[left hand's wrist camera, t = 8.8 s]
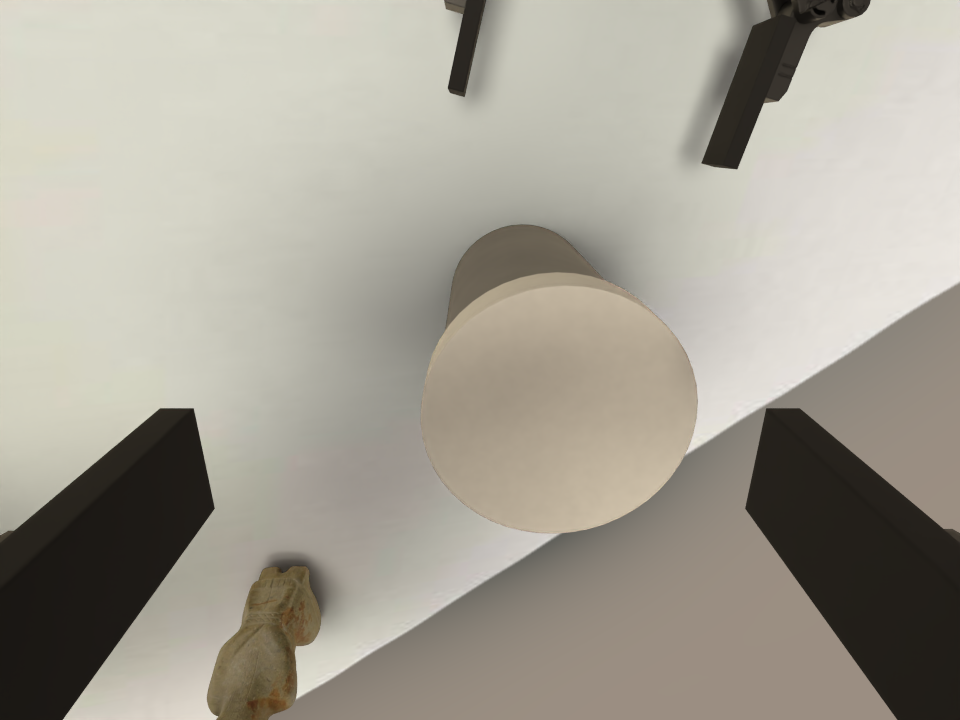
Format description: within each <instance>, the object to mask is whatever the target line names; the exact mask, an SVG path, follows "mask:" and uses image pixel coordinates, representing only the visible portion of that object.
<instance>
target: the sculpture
mask: <svg viewBox="0 0 960 720" xmlns="http://www.w3.org/2000/svg"><path fill="white" fill-rule="evenodd" d="M309 575H310V573H309V570H308V568H307V567H305V566H293V567H290V568H289V570H288V571H286V572H284V573H282V570H281V569H280V568H279V567H269V568H265V569H263V571H262V573H261V575H260V578H259V580H258V581H256V582H255V583H254V584H253V585H252V587H251V589H250V591H249V594H248V597H247V600H246V604H245V608H244V612H243V617H242V625H241V627H240V629H239V631H238V632H237V633H236V634H235V635H234V636H233V637H232V638H231V639H230V640H228V641H227V642H226V643H225V644H224V645H223V647H222V648H221V650H220V652H219V654H218V657H217V660H216V664H215V667H214V671H213V674H212V678H211V681H210V685H209V689H208V694H207V702H208V706H209V709H210V711H211V712H212V713H213V714H214V715H216V716H218V718H217V719H216V720H268V718H269V717H270V716H271V715H273V714H275V713H278V712H281V711H284V710H286V709H288V708H290V707H291V706H292V705H293V703H294V701H295V699H296V694H297V673H296V660H295V648H296V646H304V645H308V644H310V643H312V642H313V641H314V639H315V638H316V636H317V634H318V632H319V629H320V624H321V614H320V609H319V606H318V603H317V600H316V598H315V596H314V594H313V592H312V590H311V588H310V583H309Z"/></svg>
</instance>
